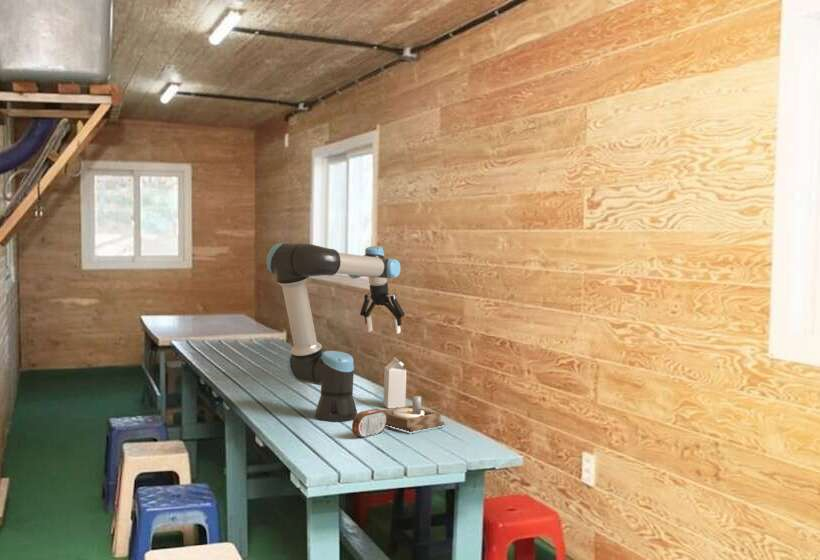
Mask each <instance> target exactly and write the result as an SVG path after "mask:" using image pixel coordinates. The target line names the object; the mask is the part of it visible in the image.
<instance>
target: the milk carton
mask: <svg viewBox="0 0 820 560" xmlns="http://www.w3.org/2000/svg"><path fill="white" fill-rule="evenodd" d="M404 365H405V364H404V363H403V362H402V361H401V360H400V361H399V359H397V358H396V357H394V356H393V359H392V360H391V361H390V362H389V363H388V364H387V365H386V366H385V367H384V377H383V378H384V379H383V384H384V385H383V406H384V405H385V406H384V407H385V408H387V409H392V408H396V407H404V406H406V399H407V397H406V395H407V393H406V392H407V368H405V367H404Z"/></svg>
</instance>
